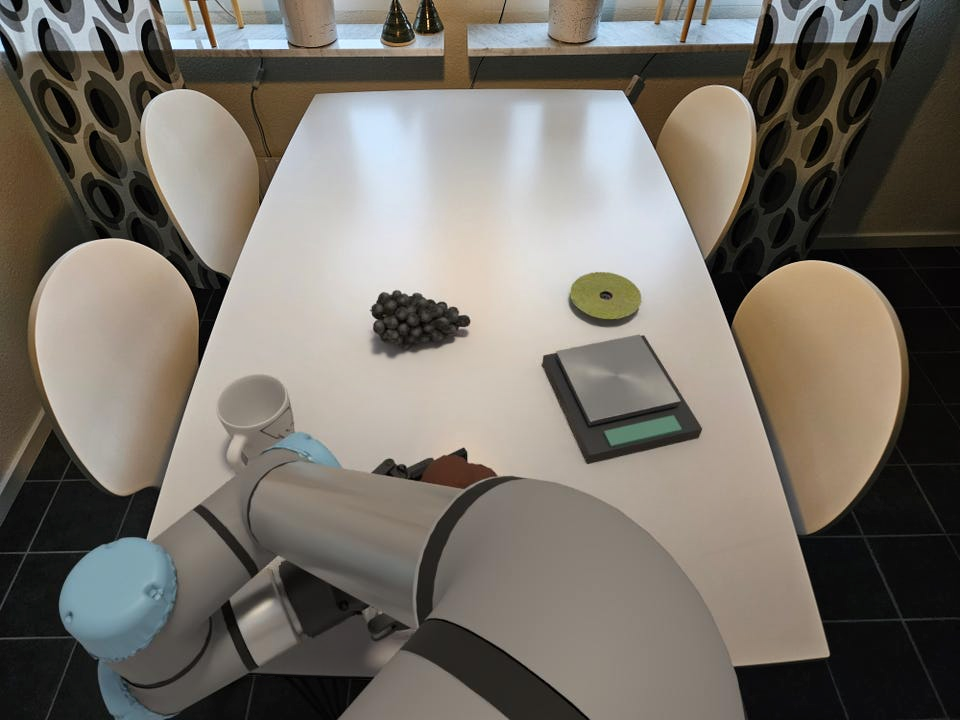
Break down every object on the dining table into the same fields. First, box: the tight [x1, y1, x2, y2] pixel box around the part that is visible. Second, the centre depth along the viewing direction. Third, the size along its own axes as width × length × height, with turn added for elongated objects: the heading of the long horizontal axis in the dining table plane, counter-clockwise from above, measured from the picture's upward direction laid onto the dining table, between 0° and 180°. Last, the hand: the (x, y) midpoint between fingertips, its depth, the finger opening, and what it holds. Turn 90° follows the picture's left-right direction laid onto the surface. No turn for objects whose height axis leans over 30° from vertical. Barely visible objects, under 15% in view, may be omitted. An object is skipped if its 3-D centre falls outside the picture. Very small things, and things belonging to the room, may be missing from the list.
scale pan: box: [555, 334, 681, 426], centre depth 90 cm, size 13×13×1 cm
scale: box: [542, 334, 703, 464], centre depth 90 cm, size 18×16×3 cm
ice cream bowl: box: [419, 454, 499, 489], centre depth 66 cm, size 11×11×15 cm
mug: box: [215, 373, 296, 474], centre depth 80 cm, size 11×8×10 cm
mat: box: [569, 271, 642, 320], centre depth 104 cm, size 11×11×2 cm
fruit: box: [369, 289, 471, 350], centre depth 96 cm, size 9×8×15 cm
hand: (493, 497), depth 67 cm, fingers closed on ice cream bowl, 11 cm apart
